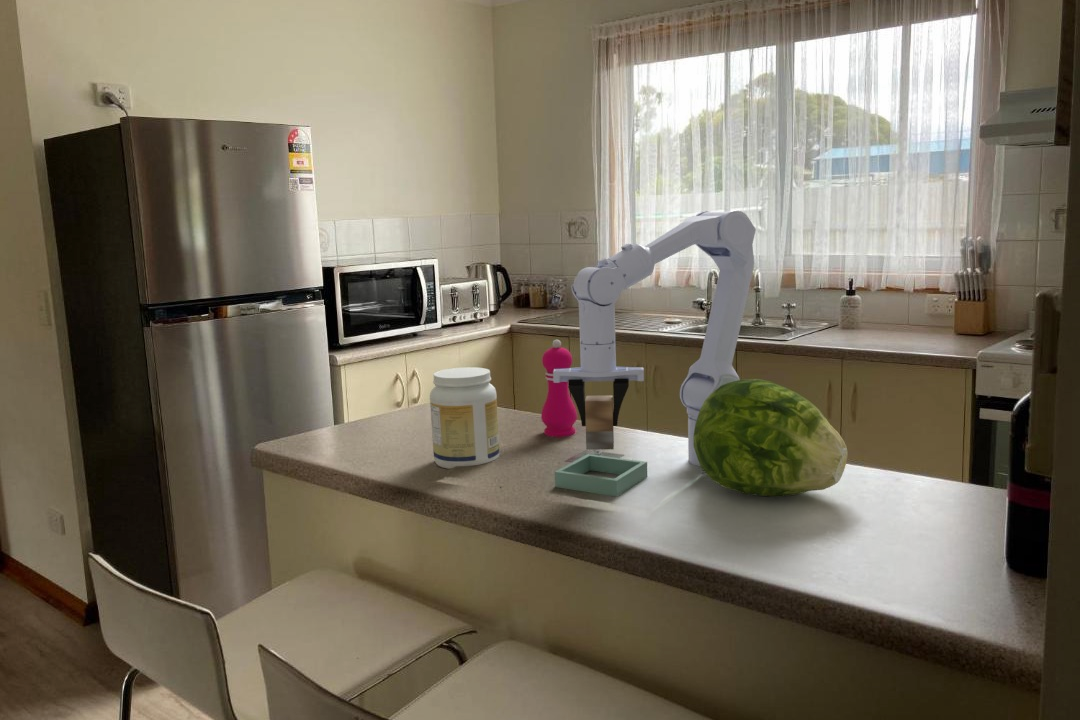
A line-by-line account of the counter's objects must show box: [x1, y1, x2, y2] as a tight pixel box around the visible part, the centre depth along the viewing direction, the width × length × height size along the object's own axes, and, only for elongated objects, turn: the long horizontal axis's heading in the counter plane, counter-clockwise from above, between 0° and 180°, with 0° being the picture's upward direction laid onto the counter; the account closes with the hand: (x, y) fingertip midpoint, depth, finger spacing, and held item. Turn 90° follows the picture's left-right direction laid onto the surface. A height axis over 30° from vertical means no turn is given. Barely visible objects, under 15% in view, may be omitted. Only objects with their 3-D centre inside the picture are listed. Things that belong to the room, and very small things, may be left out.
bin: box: [554, 454, 648, 497], centre depth 141 cm, size 11×11×4 cm
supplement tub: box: [429, 366, 500, 470], centre depth 157 cm, size 12×12×17 cm
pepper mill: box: [540, 339, 578, 438], centre depth 172 cm, size 7×7×20 cm
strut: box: [585, 394, 615, 451], centre depth 140 cm, size 4×4×8 cm
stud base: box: [565, 449, 625, 463], centre depth 154 cm, size 8×8×3 cm
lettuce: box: [693, 378, 849, 498], centre depth 133 cm, size 19×23×18 cm
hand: (599, 424), depth 140 cm, fingers closed on strut, 4 cm apart
